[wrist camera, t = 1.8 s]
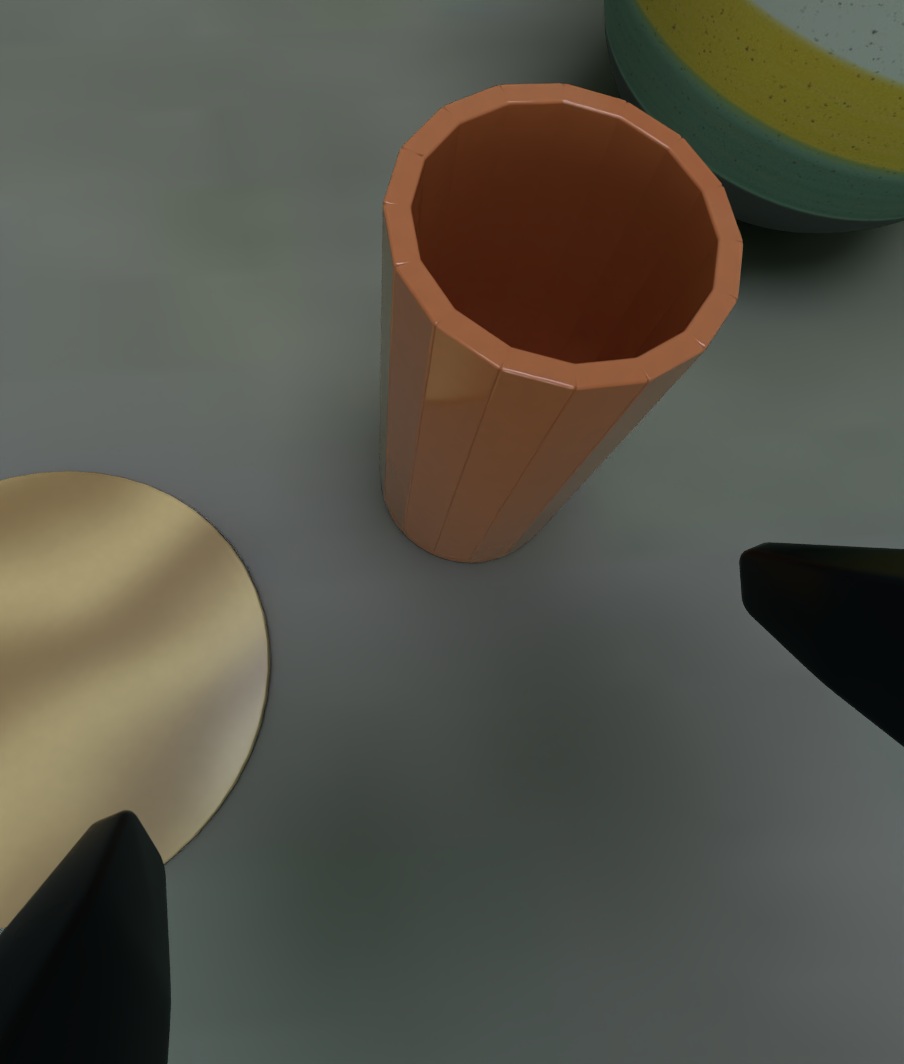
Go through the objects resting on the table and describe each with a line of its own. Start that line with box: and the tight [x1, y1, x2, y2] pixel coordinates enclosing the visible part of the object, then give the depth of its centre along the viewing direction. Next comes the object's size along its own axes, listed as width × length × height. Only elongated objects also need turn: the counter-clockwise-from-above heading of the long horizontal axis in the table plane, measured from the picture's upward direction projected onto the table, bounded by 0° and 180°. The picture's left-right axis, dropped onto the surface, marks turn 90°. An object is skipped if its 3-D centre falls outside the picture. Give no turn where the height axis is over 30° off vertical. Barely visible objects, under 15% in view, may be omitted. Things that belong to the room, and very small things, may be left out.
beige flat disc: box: [0, 471, 270, 928], centre depth 20 cm, size 14×14×1 cm
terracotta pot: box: [379, 83, 743, 563], centre depth 17 cm, size 7×7×13 cm
